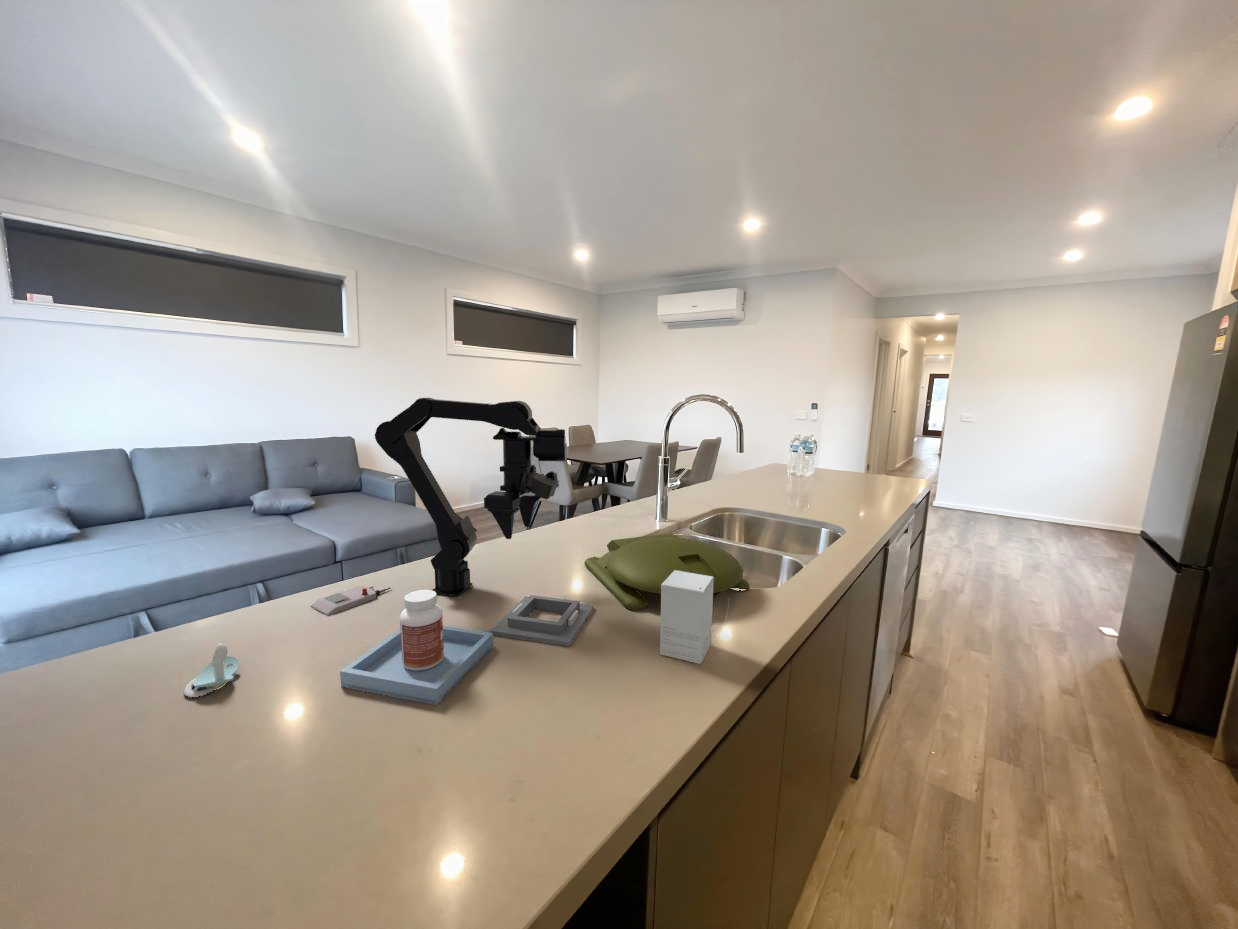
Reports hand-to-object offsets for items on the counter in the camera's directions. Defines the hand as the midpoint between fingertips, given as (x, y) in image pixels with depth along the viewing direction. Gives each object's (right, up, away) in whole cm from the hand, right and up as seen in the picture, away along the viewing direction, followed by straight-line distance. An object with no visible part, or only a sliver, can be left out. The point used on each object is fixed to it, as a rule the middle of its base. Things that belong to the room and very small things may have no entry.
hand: (518, 532), depth 104 cm
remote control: (-34, -14, -5) cm, 37 cm away
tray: (-9, -17, -27) cm, 34 cm away
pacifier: (-38, -18, -33) cm, 54 cm away
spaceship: (+33, -13, +8) cm, 37 cm away
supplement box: (+33, -17, -21) cm, 43 cm away
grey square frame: (+8, -15, -12) cm, 21 cm away
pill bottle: (-9, -17, -27) cm, 33 cm away
